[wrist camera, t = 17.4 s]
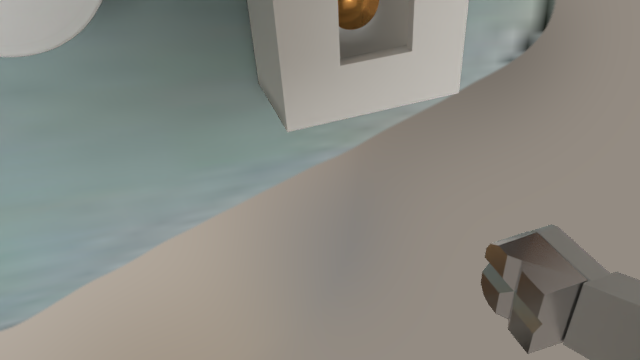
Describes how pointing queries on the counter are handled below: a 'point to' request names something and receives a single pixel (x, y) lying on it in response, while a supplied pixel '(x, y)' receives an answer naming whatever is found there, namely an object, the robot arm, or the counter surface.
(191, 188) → the counter surface
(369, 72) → the box
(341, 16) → the orange ball
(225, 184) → the counter surface
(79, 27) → the supplement tub
